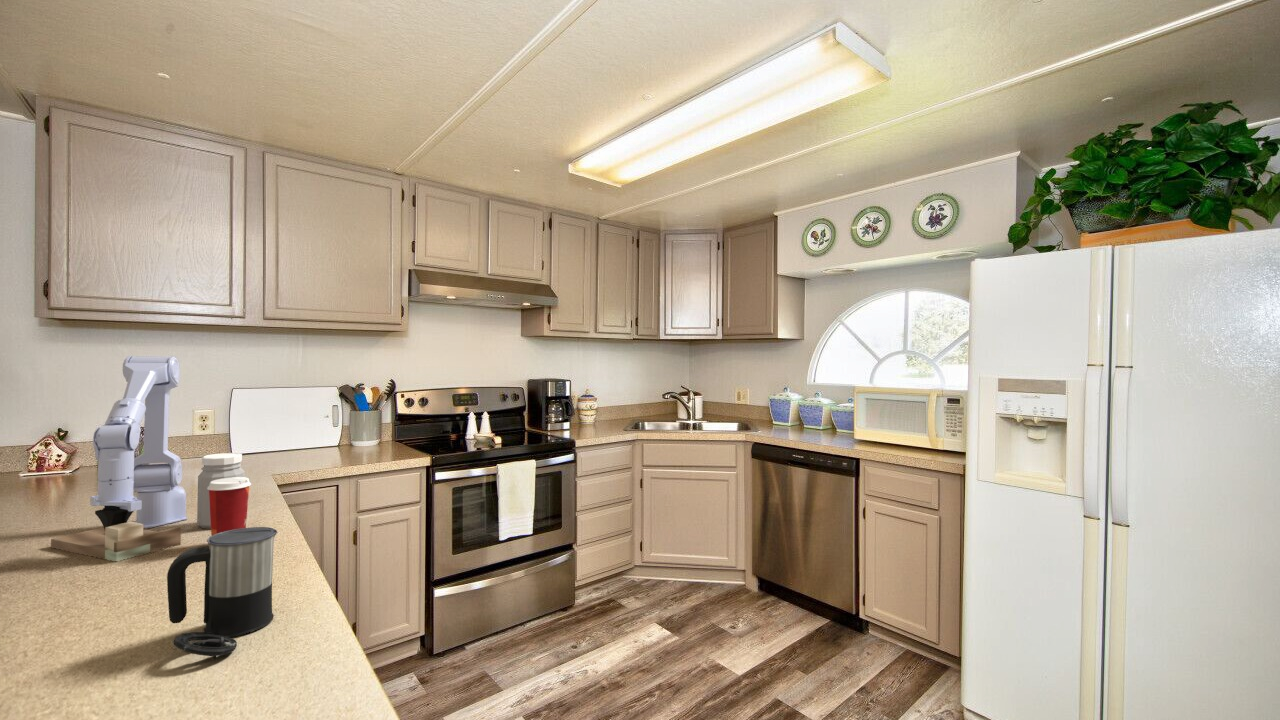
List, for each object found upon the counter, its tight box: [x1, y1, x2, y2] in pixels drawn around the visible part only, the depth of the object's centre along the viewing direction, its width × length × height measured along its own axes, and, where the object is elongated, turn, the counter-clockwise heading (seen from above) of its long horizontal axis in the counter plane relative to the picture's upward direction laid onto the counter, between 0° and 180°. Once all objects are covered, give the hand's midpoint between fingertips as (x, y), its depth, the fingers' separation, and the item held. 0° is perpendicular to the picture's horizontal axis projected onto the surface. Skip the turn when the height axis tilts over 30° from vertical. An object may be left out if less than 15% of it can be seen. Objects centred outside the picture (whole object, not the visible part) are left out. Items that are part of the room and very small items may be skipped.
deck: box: [50, 526, 182, 562], centre depth 124 cm, size 12×24×4 cm, turn 71°
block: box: [105, 521, 144, 550], centre depth 119 cm, size 4×4×4 cm
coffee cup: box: [207, 476, 252, 536], centre depth 126 cm, size 8×8×15 cm
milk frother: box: [166, 526, 278, 660], centre depth 84 cm, size 14×16×15 cm
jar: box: [196, 452, 246, 530], centre depth 142 cm, size 10×10×18 cm
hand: (114, 540), depth 120 cm, fingers closed
